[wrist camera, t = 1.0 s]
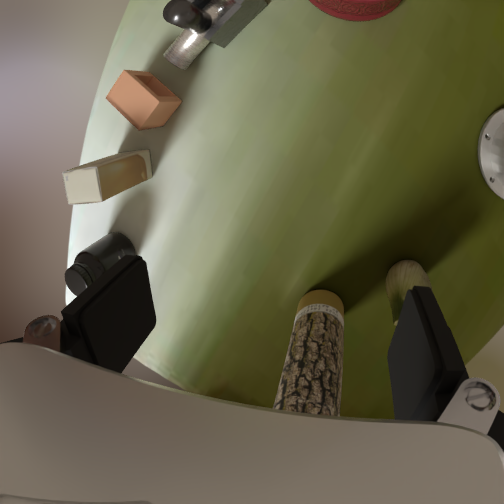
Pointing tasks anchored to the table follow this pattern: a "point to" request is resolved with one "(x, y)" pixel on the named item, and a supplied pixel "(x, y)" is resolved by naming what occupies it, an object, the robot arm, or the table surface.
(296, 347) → the paper tube
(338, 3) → the canister
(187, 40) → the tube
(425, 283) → the fennel bulb
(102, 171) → the skincare box
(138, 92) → the socket
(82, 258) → the supplement bottle
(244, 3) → the sleeve
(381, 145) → the table surface
